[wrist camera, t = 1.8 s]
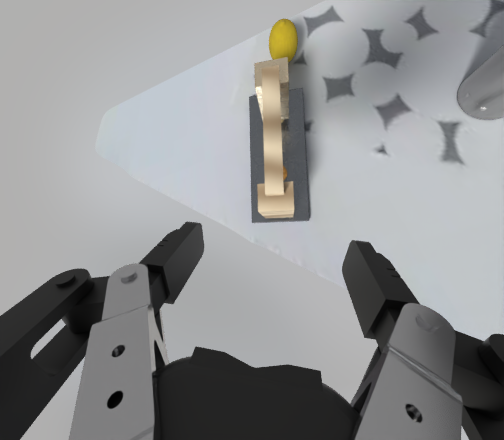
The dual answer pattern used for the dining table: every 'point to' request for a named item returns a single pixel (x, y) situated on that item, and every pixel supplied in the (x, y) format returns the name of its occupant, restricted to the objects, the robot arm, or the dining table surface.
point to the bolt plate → (290, 143)
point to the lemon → (283, 40)
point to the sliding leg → (273, 152)
